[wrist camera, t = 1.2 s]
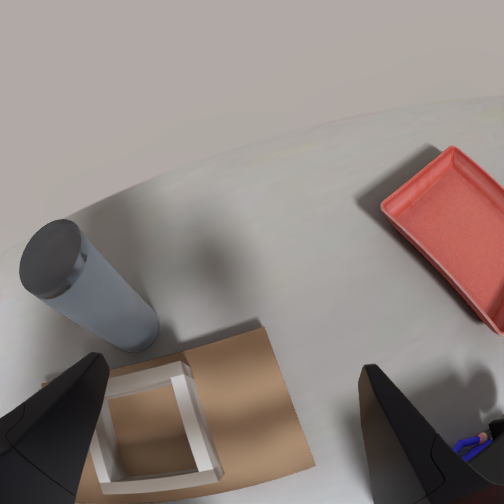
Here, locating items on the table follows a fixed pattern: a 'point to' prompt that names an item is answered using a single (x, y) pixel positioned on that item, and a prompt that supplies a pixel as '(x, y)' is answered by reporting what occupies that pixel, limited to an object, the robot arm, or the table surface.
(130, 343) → the blue-grey cylinder
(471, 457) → the figurine character
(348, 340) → the table surface
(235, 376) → the jig
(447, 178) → the plant saucer
